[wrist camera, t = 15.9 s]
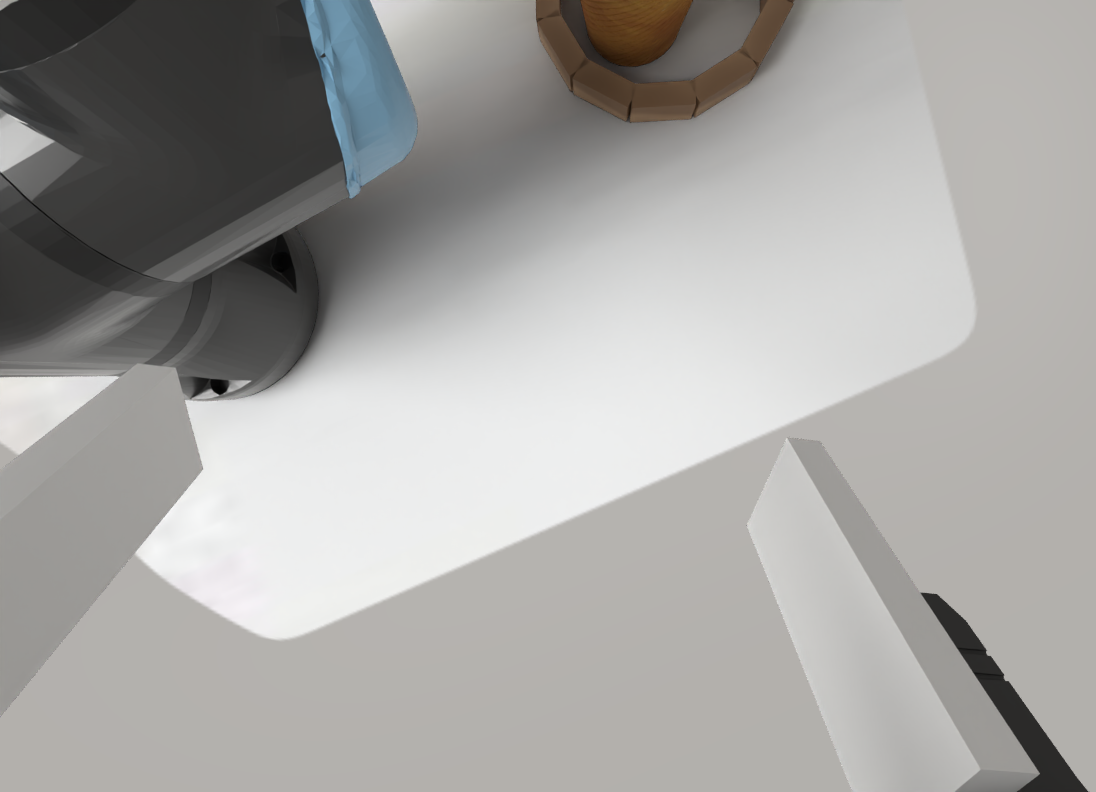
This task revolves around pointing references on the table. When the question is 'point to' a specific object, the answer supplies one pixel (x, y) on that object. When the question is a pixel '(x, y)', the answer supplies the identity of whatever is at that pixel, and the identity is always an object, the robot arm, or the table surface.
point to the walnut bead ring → (661, 96)
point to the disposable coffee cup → (633, 28)
